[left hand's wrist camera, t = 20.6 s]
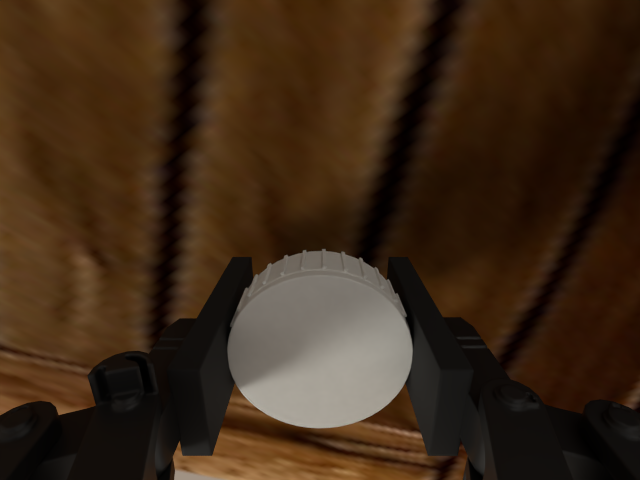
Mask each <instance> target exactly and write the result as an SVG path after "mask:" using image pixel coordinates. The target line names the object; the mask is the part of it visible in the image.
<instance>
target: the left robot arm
mask: <svg viewBox="0 0 640 480" xmlns="http://www.w3.org/2000/svg"><path fill="white" fill-rule="evenodd" d="M387 279H389V281H390V283H391V285H392V288H393V290H394V293H395V294H396V293H397V294H398V296H399V298H400V301H401V303H402V305H403V308H404V310H405V313H406V315H407V317H405V318H406V321H407V323H408V325H409V328H410V333H411V337H412V342H413V355H412V364H411V370H410V372H409V375H408V378H407V380H406V382H405V383H406V386H407V389H408V392H409V396H410V399H411V402H412V405H413V409H414V412H415V415H416V418H417V421H418V425H419V428H420V431H421V434H422V437H423V441H424V444H425V447H426V450H427V454H428V456H458V451H459V446H460V440H461V441H462V443H463V445H464V448H465V450H466V452H467V455H468V457H467V462H466V466H465V471H464V476H463V480H640V413H638V412H636V411H634V410H632V409H631V408H629V407H627V406H624V405H621V404H618V403H616V402H612V401H606V400H593V401H590V402H589V403H587V404H586V405H585V407H584V410H583V413H582V414H580V413H576V412H572V411H568V410H563V409H559V408H555V407H551V406H548V405H545V404H544V403H543V402H542V400H541V399H540V397H539V396H538V395H537V394H536V393H535V392H534V391H532V390H531V389H530V388H529V387H527V386H525V385H523V384H521V383H519V382H517V381H513V380H510V378H509V377H508V375H507V374H506V372H505V371H504V370H503V368H502V367H501V365H500V364H499V363H498V361H497V360H496V358H495V357H494V355H493V354H492V353H491V351H490V350H489V349H487V345H486V344H485V343H484V341H483V340H482V339H481V337H480V335H479V334H478V333H477V331H476V330H475V328H474V327H473V326H472V325H470V324H469V323H468V322H466V321H465V320H463V319H462V318H461V317H442V315H441V313H440V312H439V310H438V308H437V307H436V305H435V303H434V301H433V300H432V298H431V296H430V295H429V293H428V291H427V290H426V288H425V286H424V284H423V283H422V281H421V279H420V278H419V276H418V274H417V273H416V271H415V269H414V267H413V266H412V264H411V262H410V261H409V259H408V257H389V260H388V274H387ZM252 282H253V271H252V258H251V257H233V258H232V259H231V261H230V263H229V264H228V266H227V268H226V270H225V271H224V273H223V275H222V276H221V278H220V280H219V281H218V283H217V285H216V287H215V288H214V290H213V292H212V293H211V295H210V297H209V298H208V300H207V302H206V304H205V305H204V307H203V309H202V310H201V312H200V314H199V315H198V317H197V319H179V320H177V321H176V322H174V323H173V324H172V325H170V326H169V327H167V329H166V330H165V332H164V333H163V334H162V336H161V337H160V340H159V341H158V342H157V343H156V344H155V346H154V347H153V350H151V352H150V353H149V354H148V353H145V352H141V351H128V352H124V353H120V354H116V355H114V356H111V357H109V358H107V359H105V360H103V361H102V362H100V363H99V364H98V365H97V366H95V367H94V368H93V369H92V370H91V372H90V373H89V375H88V379H89V382H90V386H91V389H92V393H93V396H94V400H95V403H96V406H94V407H90V408H87V409H83V410H79V411H75V412H70V413H66V414H62V415H58V412H57V409H56V407H55V406H54V405H53V404H52V403H50V402H44V401H37V402H31V403H26V404H24V405H21V406H18V407H15V408H13V409H11V410H9V411H7V412H6V413H4V414H2V415H0V480H174V474H175V468H174V462H173V455H174V452H175V450H176V448H177V445H178V443H179V441H180V444H181V450H182V455H183V456H212V454H213V451H214V448H215V445H216V441H217V438H218V435H219V432H220V428H221V425H222V422H223V419H224V416H225V412H226V409H227V406H228V403H229V400H230V396H231V393H232V390H233V387H234V383H235V381H234V379H233V377H232V374H231V371H230V368H229V362H228V353H227V345H228V338H229V334H230V331H231V328H232V327H230V324H231V322H232V319H233V317H234V314H235V312H236V309H237V307H238V305H239V302H240V300H241V298H242V295H243V293H244V290H245V288H249V287H250V285H251V284H252Z"/></svg>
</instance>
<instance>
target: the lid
mask: <svg viewBox="0 0 640 480" xmlns="http://www.w3.org/2000/svg"><path fill="white" fill-rule="evenodd" d="M405 317H407V315H406V313H405V310H404V308H403V305H402V303H401V301H400V298H399V296H398V294H397V293H396V294H395V293H394V290H393V288H392V285H391V283H390V281H389V279H387V280H385V278H384V277H383V276H382V275H381V274H380V273H379V271H378V268H376V267H375V268H373V267H371V266H369V265H368V264H366V263H365V262H363V259H362V258H359V259H357V258H354V257H351V256H348V255H345V252H341V253H336V252H328V251H326V249H322V251H311V252H306V250H303V253H299V254H295V255H292V256H289V257H288V255H285V256H284V259H282V260H279V261H277V262H276V263H274V264H271V263H270V264H268V266H267V269H265V270H264V271H263V272H262V273H260V274H259V276H258V275H257V274H256V275H255V277H254V279H253V282H252V284H251V285H250V287H249V288H245V290H244V293H243V295H242V298H241V300H240V302H239V305H238V307H237V309H236V312H235V314H234V317H233V319H232V322H231V324H230V327H232V328H231V331H230V334H229V338H228V345H227V353H228V362H229V368H230V371H231V374H232V377H233V379H234V381H235V383H236V385H237V387H238V388H239V389H240V391H241V392H242V394H243V395H244V396H245V397H246V398H247V399H248V400H249V401H250V402H251V403H252V404H253V405H254V406H256V407H257V408H258V409H259V410H261V411H263V412H264V413H266V414H267V415H269V416H271V417H273V418H275V419H277V420H280V421H283V422H285V423H289V424H292V425H296V426H302V427H309V428H331V427H339V426H344V425H348V424H352V423H355V422H358V421H361V420H363V419H365V418H367V417H369V416H371V415H373V414H375V413H376V412H378V411H380V410H381V409H382V408H384V407H385V406H386V405H387V404H389V403H390V402H391V401H392V400H393V399H394V398H395V396H396V395H397V394H398V393H399V391H400V390H401V389H402V387H403V385H404V384H405V382H406V380H407V378H408V375H409V372H410V370H411V364H412V355H413V342H412V337H411V333H410V328H409V325H408V323H407V321H406V318H405Z"/></svg>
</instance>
